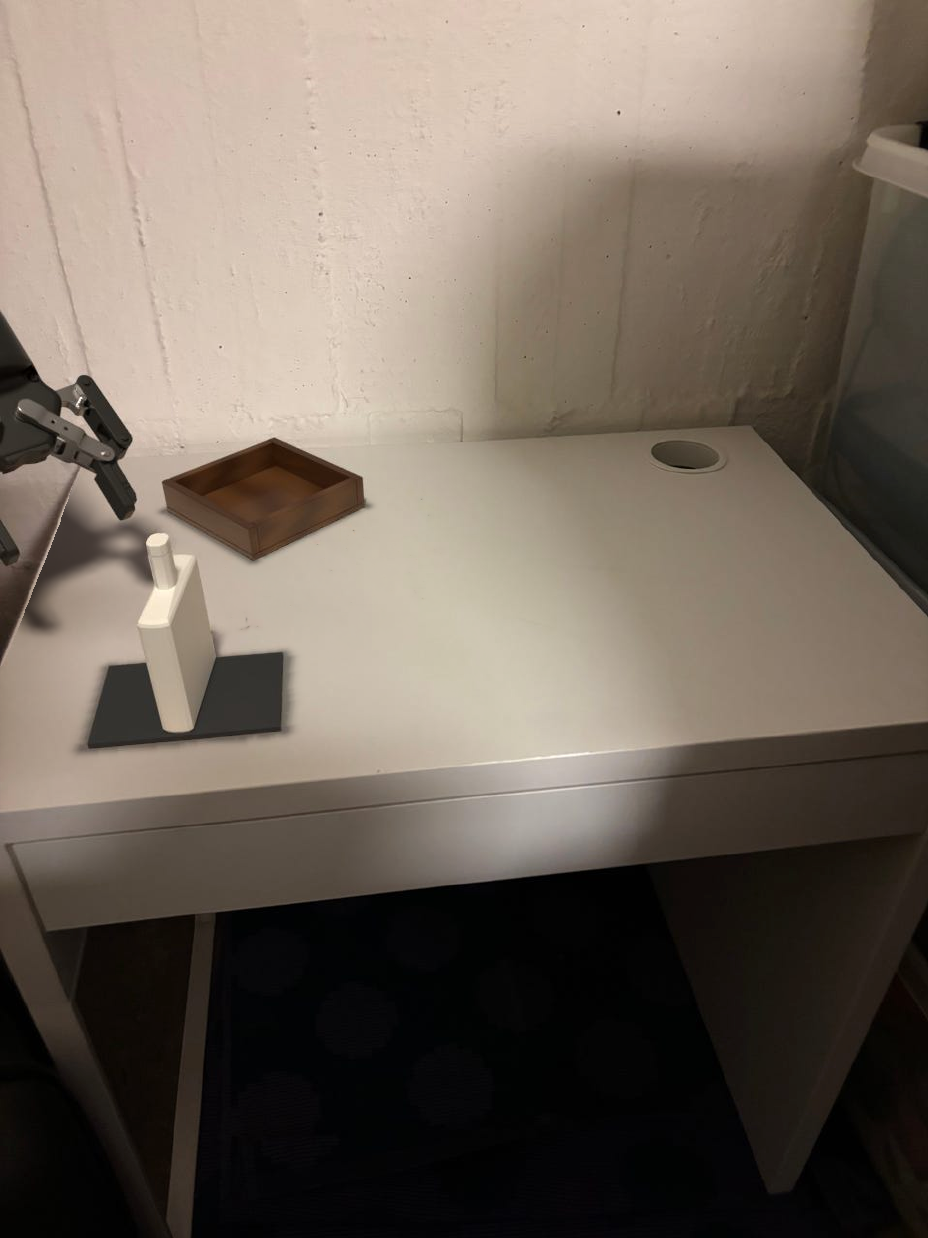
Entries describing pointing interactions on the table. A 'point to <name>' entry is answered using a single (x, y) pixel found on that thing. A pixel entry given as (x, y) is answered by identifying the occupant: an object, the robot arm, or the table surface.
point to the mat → (230, 706)
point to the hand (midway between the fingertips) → (73, 537)
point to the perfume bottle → (176, 636)
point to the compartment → (263, 496)
